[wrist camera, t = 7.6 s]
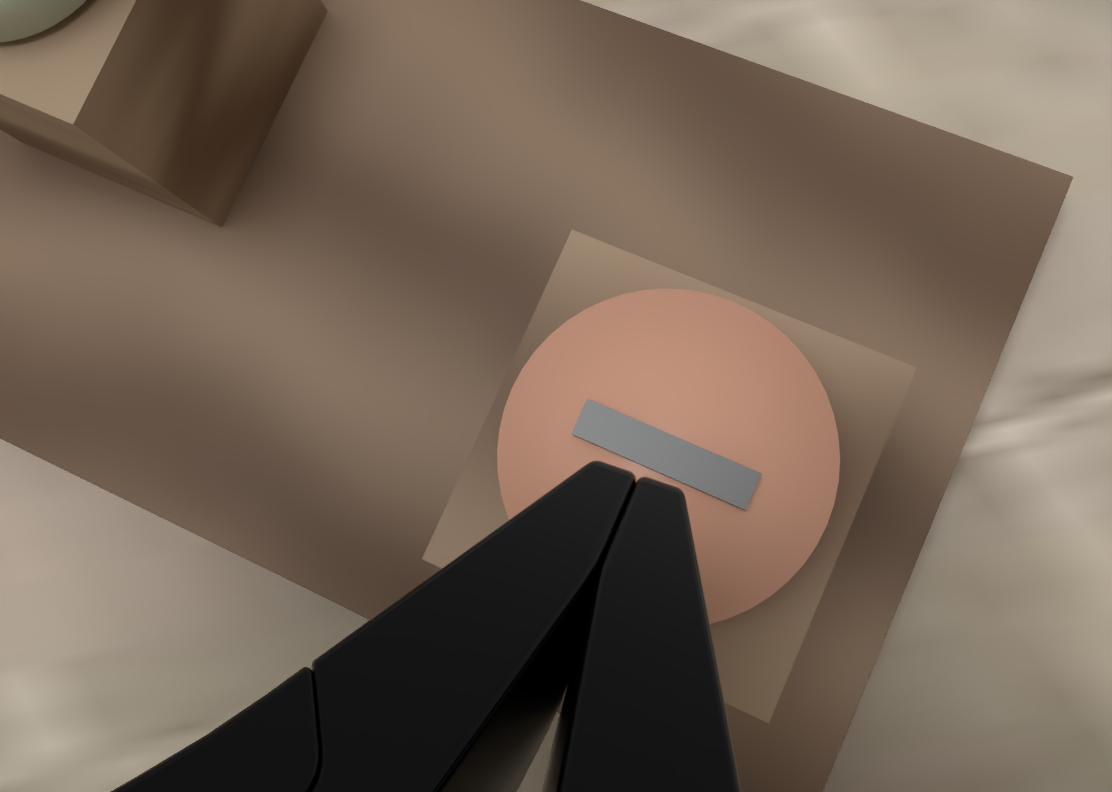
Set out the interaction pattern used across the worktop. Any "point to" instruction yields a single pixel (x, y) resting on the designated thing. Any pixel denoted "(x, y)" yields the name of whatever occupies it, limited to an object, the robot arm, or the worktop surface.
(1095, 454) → the worktop surface
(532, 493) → the button
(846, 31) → the worktop surface
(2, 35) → the button
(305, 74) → the console
